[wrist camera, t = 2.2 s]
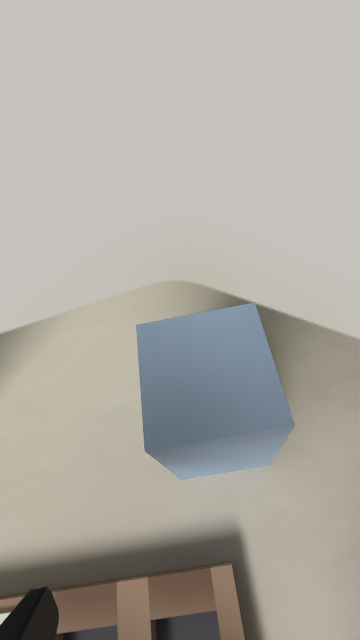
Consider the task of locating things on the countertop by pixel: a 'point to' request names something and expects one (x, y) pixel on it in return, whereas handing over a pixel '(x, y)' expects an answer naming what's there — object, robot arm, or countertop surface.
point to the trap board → (149, 607)
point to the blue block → (211, 393)
